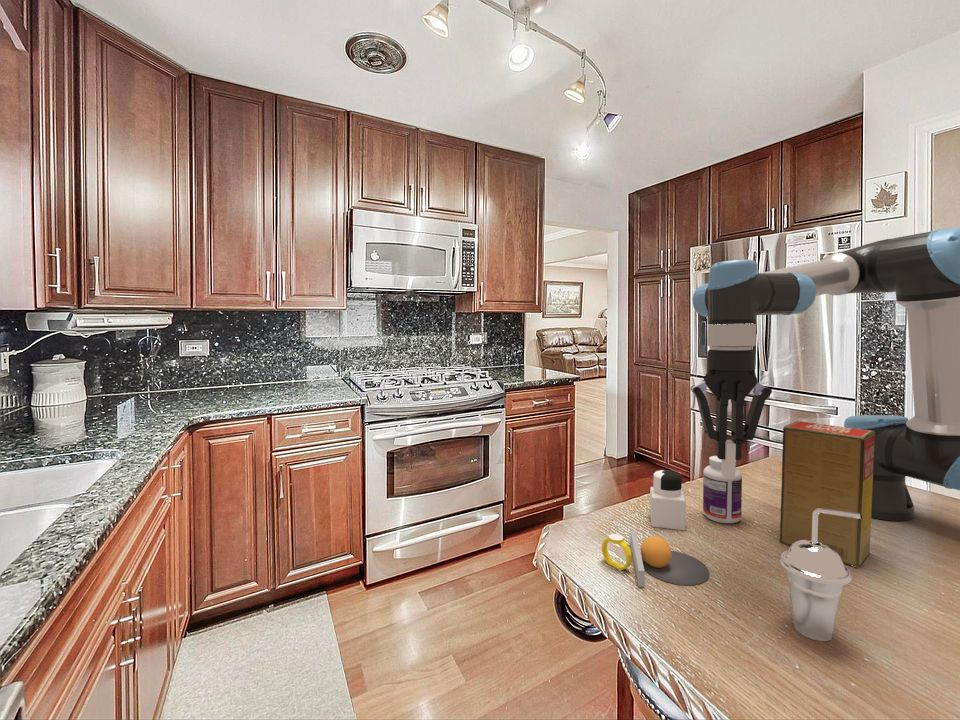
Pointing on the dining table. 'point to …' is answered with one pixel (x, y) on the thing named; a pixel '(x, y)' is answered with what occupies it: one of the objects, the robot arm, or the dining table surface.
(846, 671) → the dining table surface
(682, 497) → the medicine bottle
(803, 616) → the cup with straw
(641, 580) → the wall
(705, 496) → the pill bottle
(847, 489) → the food packaging
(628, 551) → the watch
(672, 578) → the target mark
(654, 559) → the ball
